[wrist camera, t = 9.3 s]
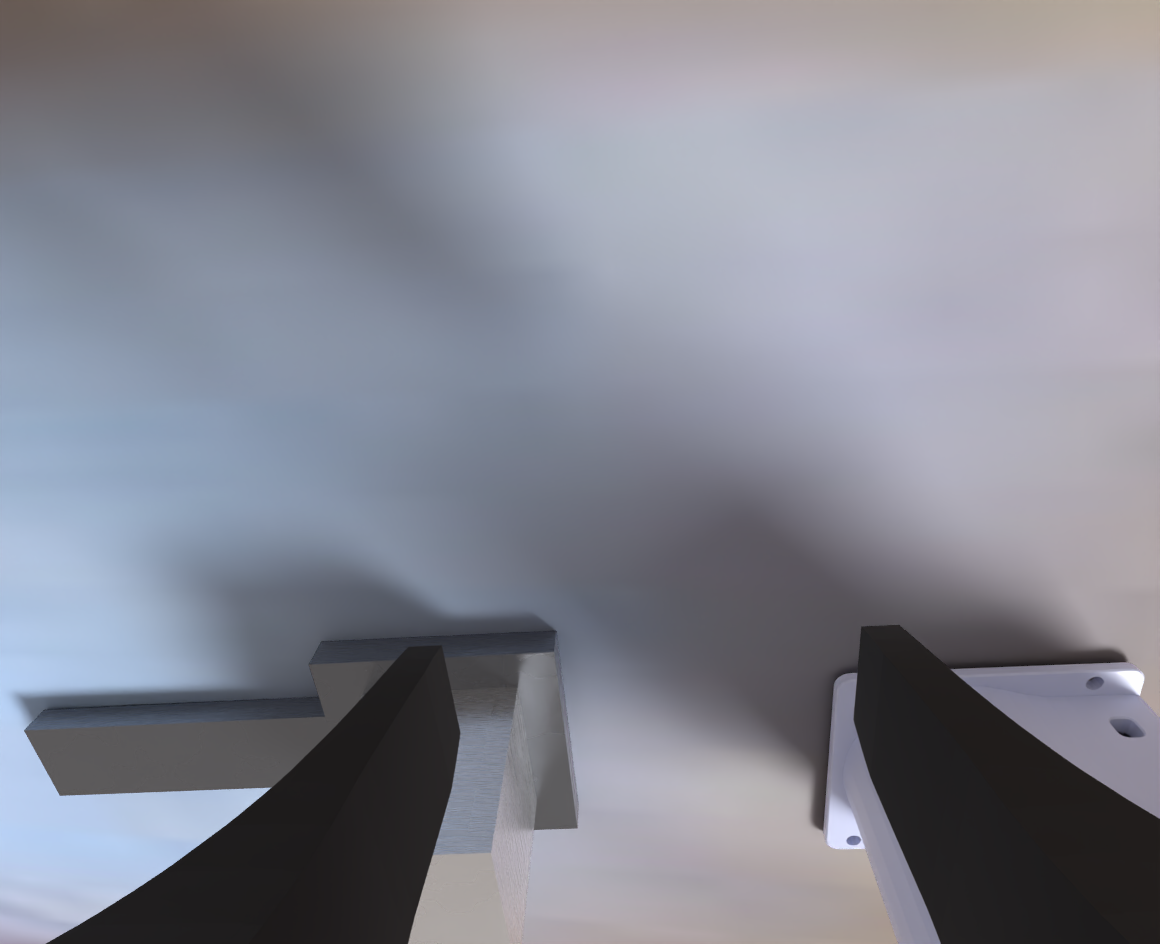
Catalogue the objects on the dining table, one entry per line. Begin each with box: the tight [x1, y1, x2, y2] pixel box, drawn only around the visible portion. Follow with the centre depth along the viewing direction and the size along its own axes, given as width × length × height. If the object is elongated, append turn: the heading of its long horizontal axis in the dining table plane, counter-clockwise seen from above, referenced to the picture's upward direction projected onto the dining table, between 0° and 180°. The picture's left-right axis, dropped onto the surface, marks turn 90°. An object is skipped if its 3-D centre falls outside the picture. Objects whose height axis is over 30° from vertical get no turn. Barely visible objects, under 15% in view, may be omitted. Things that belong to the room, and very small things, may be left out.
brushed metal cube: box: [360, 687, 537, 944], centre depth 22 cm, size 5×5×6 cm
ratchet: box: [24, 631, 579, 830], centre depth 24 cm, size 19×8×4 cm, turn 95°
